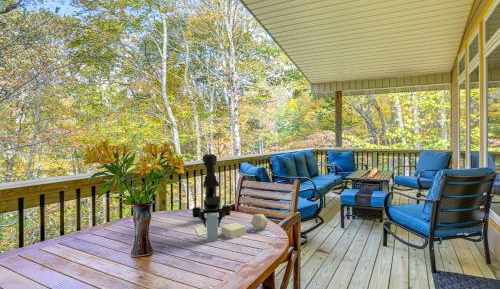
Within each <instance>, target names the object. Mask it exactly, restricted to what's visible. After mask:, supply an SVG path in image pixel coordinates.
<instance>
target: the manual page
mask: <svg viewBox="0 0 500 289" xmlns="http://www.w3.org/2000/svg"><path fill="white" fill-rule="evenodd" d="M194 230H195V232H196V234H197V236H206V235H207V226H206V228H205V226H201V227H195V228H194Z"/></svg>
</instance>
